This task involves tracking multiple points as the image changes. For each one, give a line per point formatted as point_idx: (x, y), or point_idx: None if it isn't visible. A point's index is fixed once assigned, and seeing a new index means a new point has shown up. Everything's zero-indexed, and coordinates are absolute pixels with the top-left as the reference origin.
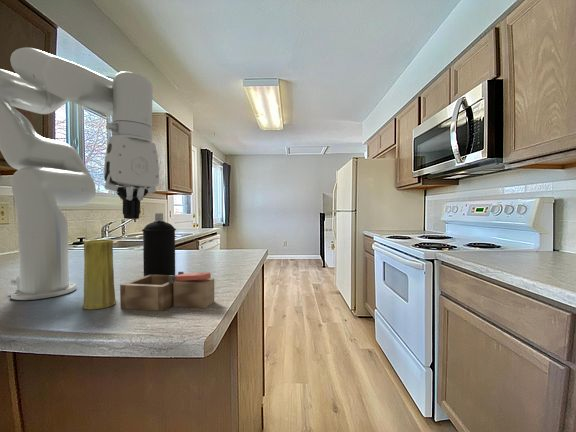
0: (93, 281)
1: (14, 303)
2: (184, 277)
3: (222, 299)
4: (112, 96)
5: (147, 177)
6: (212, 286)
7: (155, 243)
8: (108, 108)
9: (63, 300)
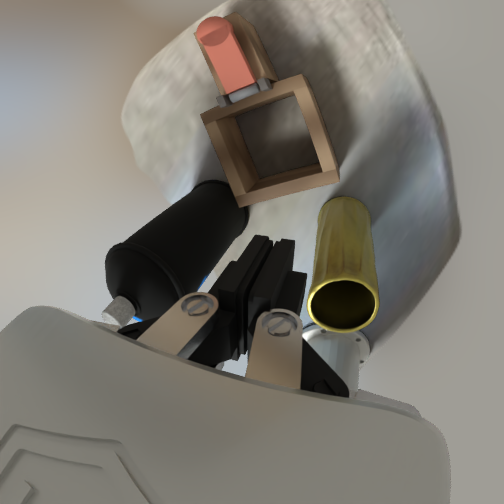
0: (368, 233)
1: (378, 339)
2: (244, 60)
3: None
4: None
5: (48, 385)
6: None
7: (186, 245)
8: None
9: None
